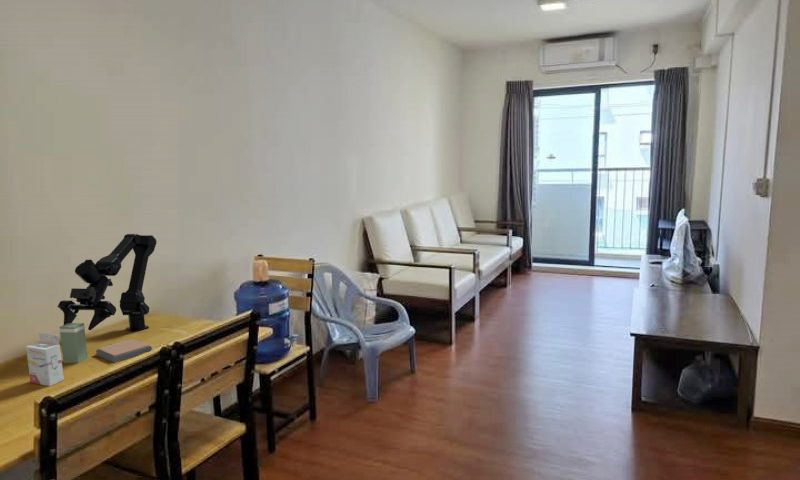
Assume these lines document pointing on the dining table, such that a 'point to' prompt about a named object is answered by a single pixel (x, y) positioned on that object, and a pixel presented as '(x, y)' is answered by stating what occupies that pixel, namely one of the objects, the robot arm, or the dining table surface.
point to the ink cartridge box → (45, 361)
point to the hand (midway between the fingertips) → (76, 329)
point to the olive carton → (73, 342)
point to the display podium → (123, 350)
